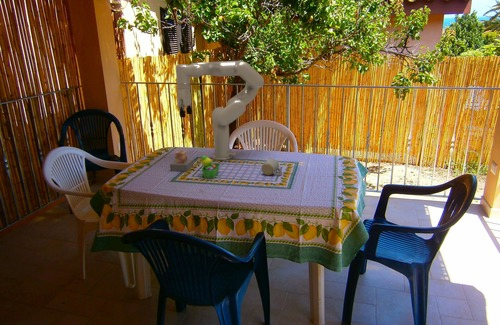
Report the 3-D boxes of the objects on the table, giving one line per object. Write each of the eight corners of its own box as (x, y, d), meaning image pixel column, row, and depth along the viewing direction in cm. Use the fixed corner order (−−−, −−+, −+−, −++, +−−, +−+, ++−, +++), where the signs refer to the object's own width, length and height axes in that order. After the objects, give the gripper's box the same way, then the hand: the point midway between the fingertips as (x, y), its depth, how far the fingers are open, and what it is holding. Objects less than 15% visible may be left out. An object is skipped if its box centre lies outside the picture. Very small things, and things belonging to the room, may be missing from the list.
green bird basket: (215, 179, 201) (213, 159, 198) (199, 178, 203) (197, 158, 199) (220, 172, 212) (219, 152, 208) (205, 171, 214) (204, 152, 210)
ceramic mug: (260, 175, 206) (260, 161, 203) (266, 170, 213) (266, 157, 210) (278, 177, 201) (279, 164, 199) (284, 172, 208) (284, 159, 206)
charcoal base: (193, 166, 223) (192, 159, 222) (186, 171, 214) (186, 165, 212) (177, 165, 225) (177, 158, 224) (170, 170, 216) (170, 164, 215)
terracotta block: (187, 160, 220) (186, 150, 218) (184, 163, 215) (183, 153, 213) (179, 160, 221) (178, 150, 219) (175, 163, 216) (175, 153, 214)
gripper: (183, 84, 227) (185, 112, 232) (171, 88, 211) (174, 118, 216) (195, 84, 225) (197, 112, 231) (184, 88, 209) (186, 118, 215)
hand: (186, 115), depth 223 cm, fingers open, 9 cm apart
